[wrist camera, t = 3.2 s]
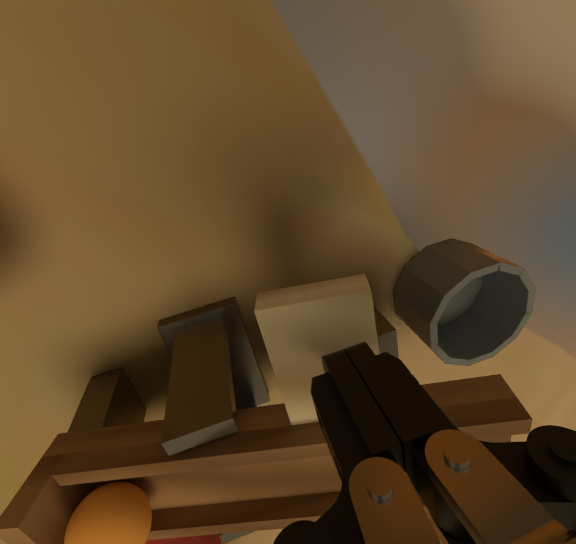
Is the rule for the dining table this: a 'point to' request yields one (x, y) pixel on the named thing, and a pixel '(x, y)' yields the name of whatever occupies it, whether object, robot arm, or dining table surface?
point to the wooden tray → (246, 436)
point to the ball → (111, 516)
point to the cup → (463, 301)
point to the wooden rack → (196, 381)
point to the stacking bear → (188, 540)
